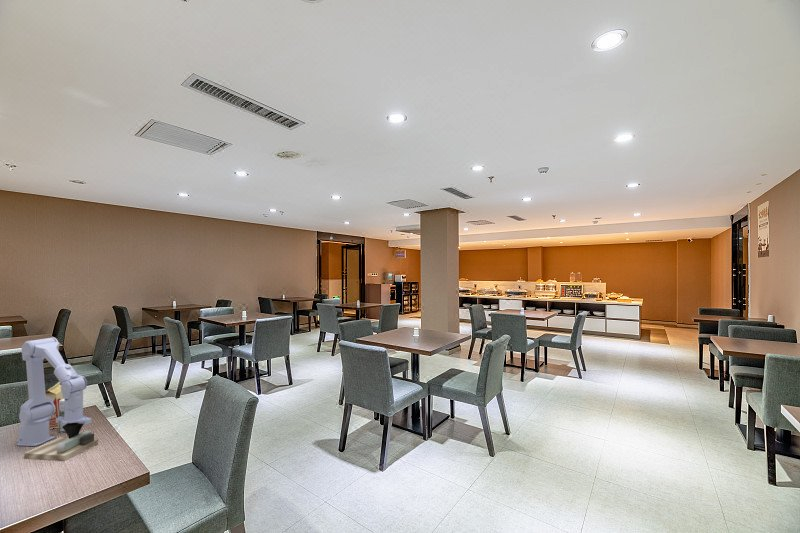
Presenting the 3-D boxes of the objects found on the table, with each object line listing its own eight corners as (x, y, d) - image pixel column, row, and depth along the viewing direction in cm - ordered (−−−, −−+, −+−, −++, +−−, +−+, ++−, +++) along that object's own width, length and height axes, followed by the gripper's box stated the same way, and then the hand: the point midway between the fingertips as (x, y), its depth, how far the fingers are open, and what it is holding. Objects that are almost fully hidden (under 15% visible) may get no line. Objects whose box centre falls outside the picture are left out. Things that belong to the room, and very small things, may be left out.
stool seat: (23, 458, 140) (23, 445, 140) (60, 441, 153) (60, 430, 153) (64, 460, 138) (64, 447, 138) (98, 443, 151) (98, 432, 151)
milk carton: (52, 422, 173) (53, 380, 174) (73, 421, 174) (73, 380, 175) (35, 430, 164) (35, 386, 165) (56, 429, 165) (57, 386, 165)
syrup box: (82, 427, 168) (82, 396, 168) (69, 432, 162) (69, 400, 162) (71, 426, 168) (71, 395, 168) (58, 432, 162) (58, 400, 162)
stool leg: (60, 453, 139) (60, 444, 139) (54, 453, 139) (54, 444, 139) (91, 438, 151) (91, 430, 151) (86, 437, 152) (86, 430, 152)
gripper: (47, 410, 144) (47, 444, 144) (79, 412, 143) (79, 446, 142) (66, 404, 151) (65, 436, 151) (96, 405, 150) (96, 438, 149)
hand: (73, 440), depth 147 cm, fingers closed
